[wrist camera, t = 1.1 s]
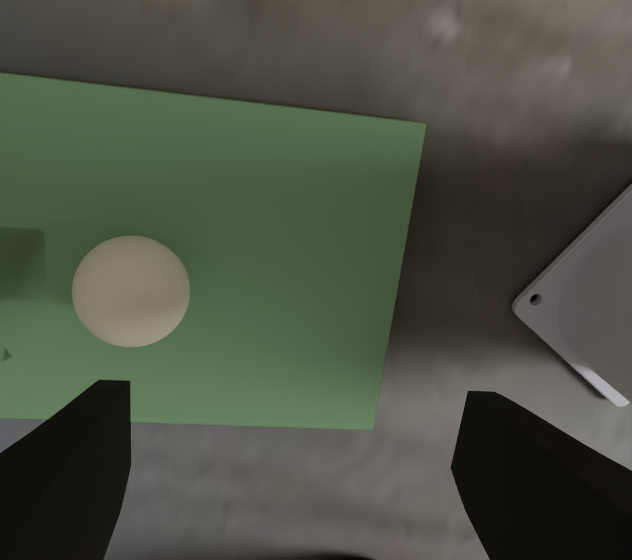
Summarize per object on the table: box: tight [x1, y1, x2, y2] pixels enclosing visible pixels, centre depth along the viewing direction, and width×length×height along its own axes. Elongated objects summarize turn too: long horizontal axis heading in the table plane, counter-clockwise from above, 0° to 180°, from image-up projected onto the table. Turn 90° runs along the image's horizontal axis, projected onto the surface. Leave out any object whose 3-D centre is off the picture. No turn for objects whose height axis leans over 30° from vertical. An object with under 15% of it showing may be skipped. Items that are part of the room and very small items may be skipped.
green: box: [0, 72, 426, 430], centre depth 19 cm, size 24×12×2 cm, turn 83°
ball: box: [72, 235, 190, 347], centre depth 17 cm, size 4×4×4 cm
